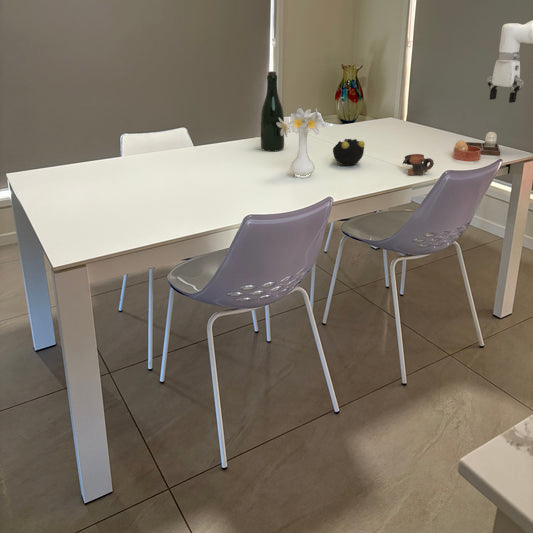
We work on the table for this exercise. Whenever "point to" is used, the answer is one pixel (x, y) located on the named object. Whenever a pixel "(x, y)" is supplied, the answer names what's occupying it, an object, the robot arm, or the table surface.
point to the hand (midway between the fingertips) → (502, 100)
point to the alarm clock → (348, 151)
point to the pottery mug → (418, 164)
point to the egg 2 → (490, 139)
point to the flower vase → (302, 139)
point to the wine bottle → (271, 117)
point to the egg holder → (486, 148)
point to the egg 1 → (461, 146)
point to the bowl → (468, 154)
